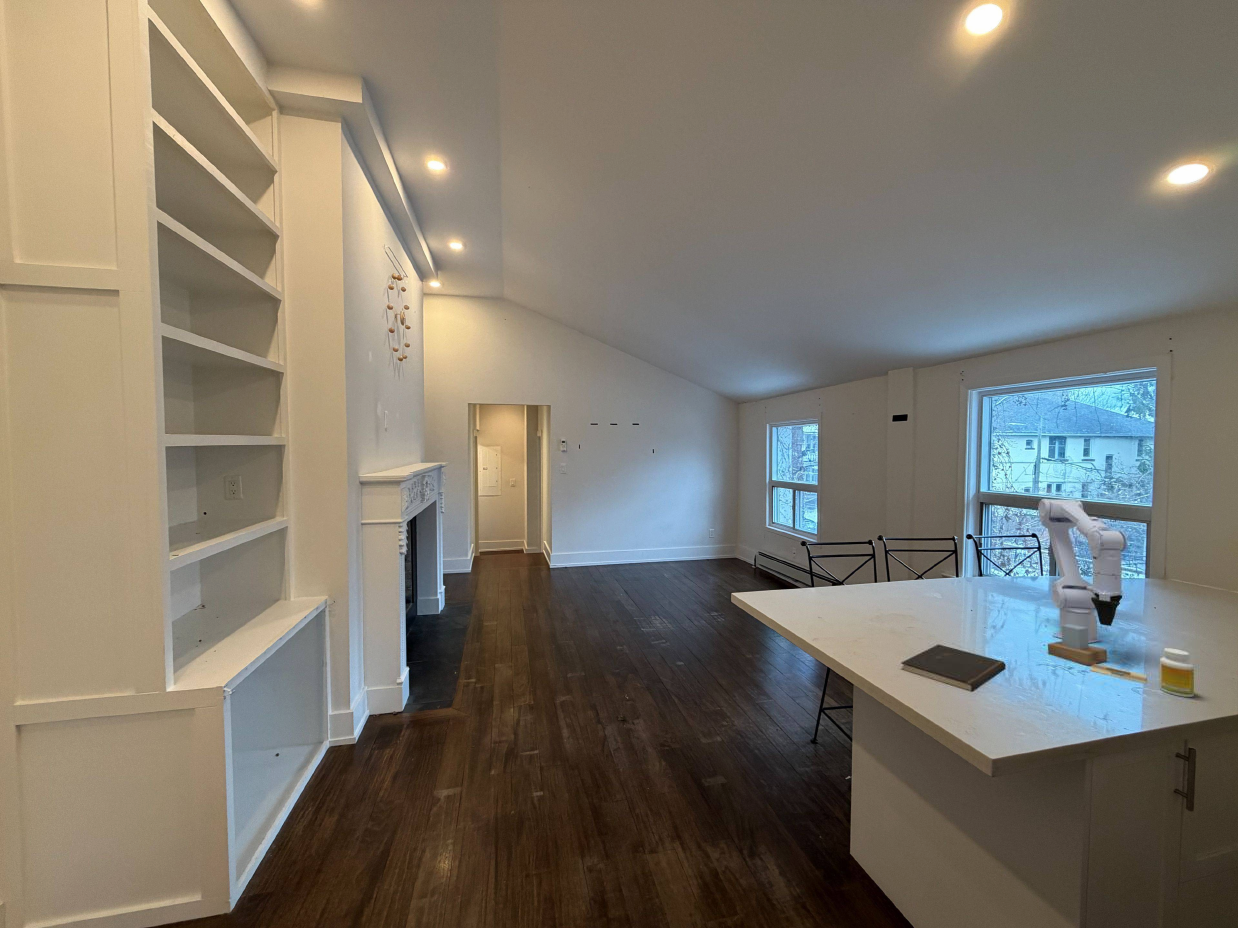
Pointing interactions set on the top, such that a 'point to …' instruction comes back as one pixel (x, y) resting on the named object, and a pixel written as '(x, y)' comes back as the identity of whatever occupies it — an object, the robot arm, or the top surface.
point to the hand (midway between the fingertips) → (1106, 622)
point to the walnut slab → (1078, 653)
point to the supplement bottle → (1176, 673)
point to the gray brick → (1075, 636)
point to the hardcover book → (954, 666)
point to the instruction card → (1119, 673)
